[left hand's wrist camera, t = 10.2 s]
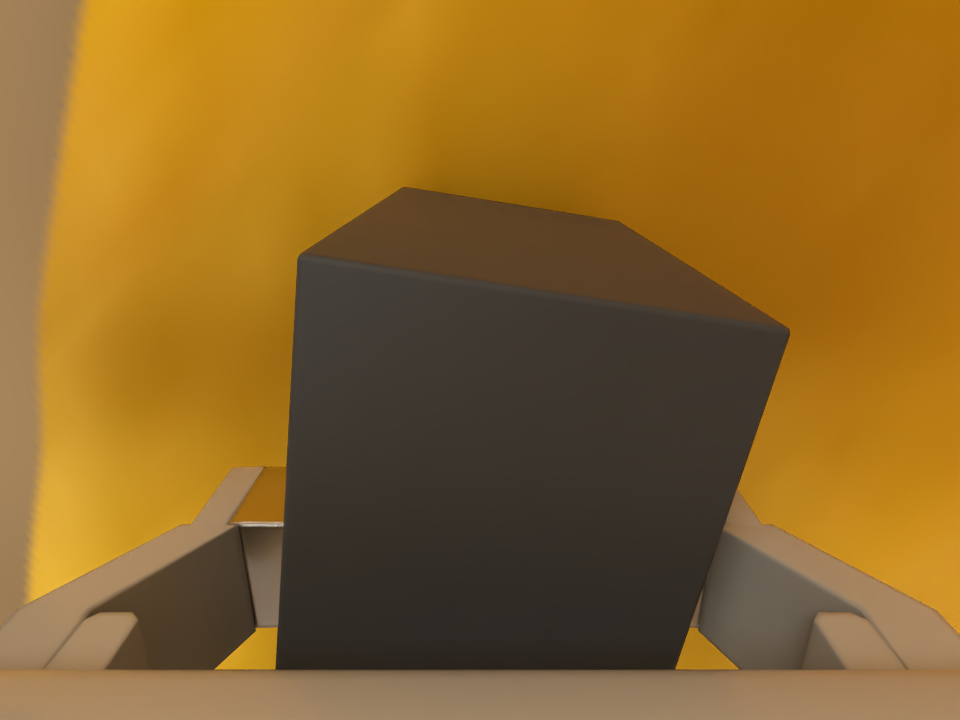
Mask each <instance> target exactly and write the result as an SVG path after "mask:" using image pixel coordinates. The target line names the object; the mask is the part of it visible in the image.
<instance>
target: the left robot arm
mask: <svg viewBox="0 0 960 720" xmlns="http://www.w3.org/2000/svg"><path fill="white" fill-rule="evenodd" d="M285 485H286V467H265V466H256V467H236V468H232V469H231V470H230V472H229V473H228V474H227V476H226V477H225V478H224V480H223V481H222V483H221V484H220V485H219V487H218V488H217V490H216V491H215V492H214V494H213V495H212V496H211V498H210V499H209V501H208V502H207V503H206V505H205V506H204V508H203V509H202V510H201V512H200V513H199V514H198V516H197V517H196V519H195V520H194V521H193V523H192V524H191V525H180V526H178V527H176V528H174V529H172V530H170V531H168V532H166V533H164V534H162V535H160V536H158V537H156V538H154V539H153V540H151V541H149V542H147V543H145V544H143V545H141V546H139V547H137V548H135V549H133V550H131V551H129V552H127V553H125V554H123V555H121V556H120V557H118V558H116V559H114V560H112V561H110V562H108V563H106V564H104V565H102V566H100V567H98V568H96V569H94V570H92V571H90V572H89V573H87V574H85V575H83V576H81V577H79V578H77V579H75V580H73V581H71V582H69V583H67V584H65V585H63V586H61V587H59V588H57V589H56V590H54V591H52V592H50V593H48V594H46V595H44V596H42V597H40V598H38V599H36V600H34V601H32V602H30V603H28V604H26V605H25V606H23V607H21V608H19V609H17V610H16V611H15V612H14V613H13V614H12V615H11V616H10V617H9V618H8V619H7V620H6V621H5V622H4V623H3V624H2V625H1V626H0V720H960V635H959V634H958V633H957V632H956V631H955V630H954V629H953V627H952V626H951V625H950V624H949V623H948V622H947V621H946V620H945V619H944V618H943V617H942V616H941V615H940V613H939V612H938V611H937V610H935V609H933V608H931V607H929V606H927V605H925V604H923V603H921V602H919V601H918V600H916V599H914V598H912V597H910V596H908V595H906V594H904V593H902V592H900V591H898V590H896V589H895V588H893V587H891V586H889V585H887V584H885V583H883V582H881V581H879V580H877V579H875V578H873V577H872V576H870V575H868V574H866V573H864V572H862V571H860V570H858V569H856V568H854V567H852V566H850V565H849V564H847V563H845V562H843V561H841V560H839V559H837V558H835V557H833V556H831V555H829V554H828V553H826V552H824V551H822V550H820V549H818V548H816V547H814V546H812V545H810V544H808V543H806V542H805V541H803V540H801V539H799V538H797V537H795V536H793V535H791V534H789V533H787V532H785V531H783V530H782V529H780V528H778V527H776V526H774V525H762V523H761V522H760V520H759V519H758V518H757V516H756V515H755V513H754V512H753V511H752V509H751V508H750V506H749V505H748V504H747V502H746V501H745V499H744V498H743V497H742V495H741V494H740V492H739V491H738V490H736V493H735V496H734V499H733V502H732V505H731V508H730V511H729V514H728V516H727V519H726V522H725V525H724V528H723V531H722V534H721V537H720V540H719V543H718V546H717V548H716V551H715V554H714V557H713V560H712V563H711V566H710V569H709V572H708V575H707V578H706V580H705V583H704V586H703V589H702V592H701V595H700V598H699V601H698V604H697V607H696V610H695V612H694V615H693V618H692V621H691V624H690V627H689V628H698V631H699V632H700V633H701V634H703V635H704V636H705V637H706V638H707V639H708V640H709V641H710V642H711V643H712V644H713V645H714V646H715V647H716V648H718V649H719V650H720V651H721V652H722V653H723V654H724V655H725V656H726V657H727V658H728V659H729V660H730V661H732V662H733V663H734V664H735V665H736V666H737V667H738V668H739V669H740V670H214V669H215V668H216V667H217V666H218V665H219V664H220V663H221V662H222V661H224V660H225V659H226V658H227V657H228V656H229V655H230V654H231V653H232V652H233V651H234V650H236V649H237V648H238V647H239V646H240V645H241V644H242V643H243V642H244V641H245V640H246V639H248V638H249V637H250V636H251V635H252V634H253V633H254V632H255V631H256V629H255V628H268V627H278V616H279V598H280V579H281V560H282V541H283V523H284V504H285Z"/></svg>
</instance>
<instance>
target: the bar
mask: <svg viewBox="0 0 960 720" xmlns="http://www.w3.org/2000/svg"><path fill="white" fill-rule="evenodd" d="M789 336H790V330H789V328H787V327H785V326H784V325H782V324H781V323H779V322H778V321H776V320H774V319H773V318H771V317H770V316H768V315H766V314H765V313H763V312H762V311H760V310H759V309H757V308H755V307H754V306H752V305H751V304H749V303H747V302H746V301H744V300H743V299H741V298H739V297H738V296H736V295H735V294H733V293H732V292H730V291H728V290H727V289H725V288H724V287H722V286H720V285H719V284H717V283H716V282H714V281H713V280H711V279H709V278H708V277H706V276H705V275H703V274H701V273H700V272H698V271H697V270H695V269H693V268H692V267H690V266H689V265H687V264H686V263H684V262H682V261H681V260H679V259H678V258H676V257H674V256H673V255H671V254H670V253H668V252H667V251H665V250H663V249H662V248H660V247H659V246H657V245H655V244H654V243H652V242H651V241H649V240H648V239H646V238H644V237H643V236H641V235H640V234H638V233H636V232H635V231H633V230H632V229H630V228H628V227H627V226H625V225H624V224H622V223H621V222H619V221H614V220H608V219H602V218H596V217H589V216H583V215H577V214H570V213H564V212H558V211H552V210H545V209H539V208H533V207H527V206H520V205H514V204H508V203H502V202H495V201H489V200H483V199H477V198H470V197H464V196H458V195H452V194H445V193H439V192H433V191H426V190H420V189H414V188H408V187H403V188H401V189H399V190H398V191H396V192H395V193H393V194H392V195H390V196H389V197H387V198H386V199H384V200H382V201H381V202H379V203H378V204H376V205H375V206H373V207H372V208H370V209H369V210H367V211H366V212H364V213H362V214H361V215H359V216H358V217H356V218H355V219H353V220H352V221H350V222H349V223H347V224H346V225H344V226H342V227H341V228H339V229H338V230H336V231H335V232H333V233H332V234H330V235H329V236H327V237H325V238H324V239H322V240H321V241H319V242H318V243H316V244H315V245H313V246H312V247H310V248H309V249H307V250H305V251H304V252H302V253H301V254H300V255H299V257H298V261H297V279H296V298H295V317H294V336H293V354H292V373H291V392H290V410H289V429H288V448H287V467H286V485H285V504H284V523H283V541H282V560H281V579H280V598H279V616H278V635H277V654H276V670H675V668H676V665H677V662H678V659H679V656H680V653H681V650H682V647H683V645H684V642H685V639H686V636H687V633H688V630H689V627H690V624H691V621H692V618H693V615H694V612H695V610H696V607H697V604H698V601H699V598H700V595H701V592H702V589H703V586H704V583H705V580H706V578H707V575H708V572H709V569H710V566H711V563H712V560H713V557H714V554H715V551H716V548H717V546H718V543H719V540H720V537H721V534H722V531H723V528H724V525H725V522H726V519H727V516H728V514H729V511H730V508H731V505H732V502H733V499H734V496H735V493H736V490H737V487H738V484H739V481H740V479H741V476H742V473H743V470H744V467H745V464H746V461H747V458H748V455H749V452H750V449H751V447H752V444H753V441H754V438H755V435H756V432H757V429H758V426H759V423H760V420H761V417H762V415H763V412H764V409H765V406H766V403H767V400H768V397H769V394H770V391H771V388H772V385H773V382H774V380H775V377H776V374H777V371H778V368H779V365H780V362H781V359H782V356H783V353H784V350H785V348H786V345H787V342H788V339H789Z"/></svg>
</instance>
